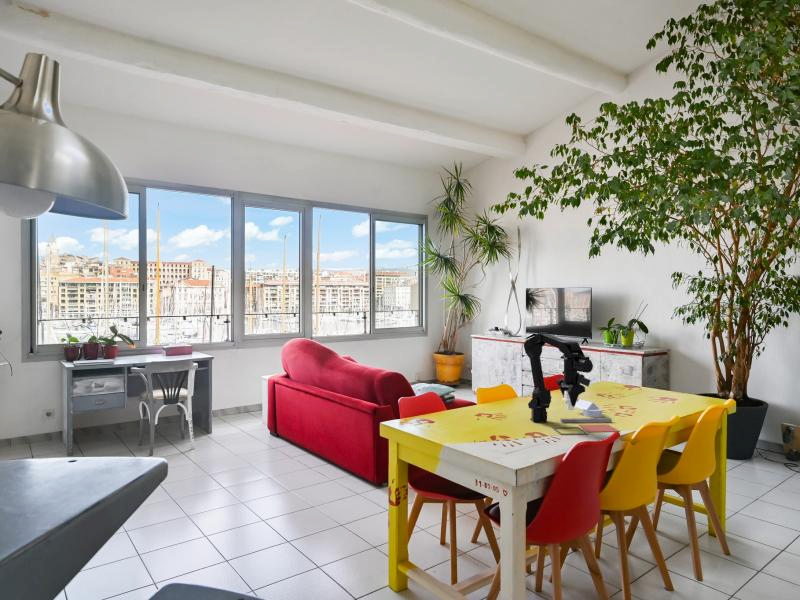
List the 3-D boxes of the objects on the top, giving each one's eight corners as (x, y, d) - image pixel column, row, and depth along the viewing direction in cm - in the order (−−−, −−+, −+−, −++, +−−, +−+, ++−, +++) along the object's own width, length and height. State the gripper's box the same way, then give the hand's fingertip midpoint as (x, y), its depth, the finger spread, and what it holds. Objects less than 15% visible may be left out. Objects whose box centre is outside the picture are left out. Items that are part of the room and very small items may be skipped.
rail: (562, 422, 249) (562, 419, 249) (560, 421, 251) (560, 418, 251) (611, 422, 250) (611, 419, 250) (609, 421, 253) (609, 417, 253)
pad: (589, 432, 233) (589, 431, 233) (578, 425, 245) (578, 424, 245) (620, 431, 233) (620, 431, 233) (607, 425, 245) (607, 424, 245)
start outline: (560, 434, 228) (560, 433, 228) (552, 428, 239) (552, 427, 239) (588, 434, 229) (588, 433, 229) (578, 427, 240) (578, 427, 240)
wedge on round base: (573, 413, 270) (594, 418, 258) (573, 400, 269) (594, 404, 258) (585, 411, 274) (606, 416, 263) (585, 398, 274) (606, 403, 263)
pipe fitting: (572, 407, 238) (572, 389, 238) (581, 410, 231) (581, 392, 231) (559, 408, 237) (559, 390, 237) (568, 411, 230) (568, 393, 230)
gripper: (597, 372, 225) (596, 409, 225) (580, 366, 244) (579, 400, 244) (571, 373, 224) (571, 409, 225) (556, 366, 243) (556, 400, 243)
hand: (570, 404), depth 234 cm, fingers closed on pipe fitting, 7 cm apart
